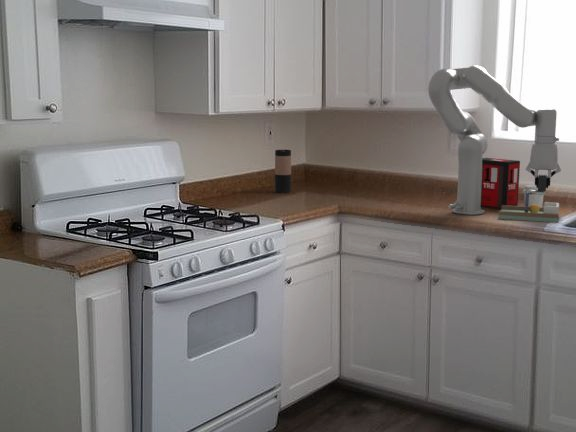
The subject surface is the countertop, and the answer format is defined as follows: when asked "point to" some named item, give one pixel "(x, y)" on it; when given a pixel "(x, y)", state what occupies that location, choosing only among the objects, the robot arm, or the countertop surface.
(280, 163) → the travel mug
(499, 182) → the cleaning product box
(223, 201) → the countertop surface
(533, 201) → the white cup
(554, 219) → the pitch
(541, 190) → the kicker rod
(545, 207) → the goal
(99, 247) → the countertop surface
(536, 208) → the ball
